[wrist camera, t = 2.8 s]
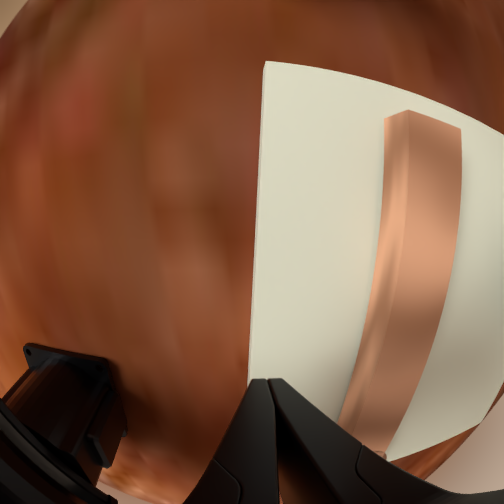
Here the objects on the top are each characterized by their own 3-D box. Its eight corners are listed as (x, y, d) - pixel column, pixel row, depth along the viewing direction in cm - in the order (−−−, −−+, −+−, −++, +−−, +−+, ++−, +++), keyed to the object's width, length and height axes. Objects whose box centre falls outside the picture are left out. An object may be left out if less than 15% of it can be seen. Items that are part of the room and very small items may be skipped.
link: (365, 461, 16) (376, 483, 13) (311, 471, 15) (318, 497, 13) (443, 136, 11) (476, 131, 9) (372, 115, 11) (402, 102, 8)
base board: (242, 475, 17) (243, 485, 16) (263, 69, 11) (265, 60, 10) (476, 417, 19) (481, 422, 18) (541, 165, 13) (549, 165, 12)
